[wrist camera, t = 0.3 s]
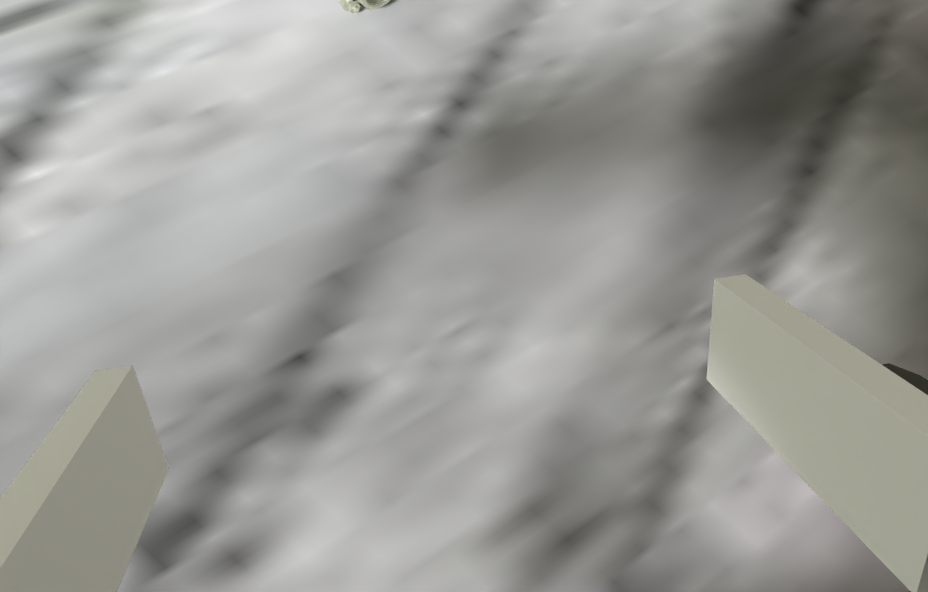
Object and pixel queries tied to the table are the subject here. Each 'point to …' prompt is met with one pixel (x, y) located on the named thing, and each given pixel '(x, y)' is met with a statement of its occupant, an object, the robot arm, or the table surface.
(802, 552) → the table surface
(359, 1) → the pneumatic valve
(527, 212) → the table surface
